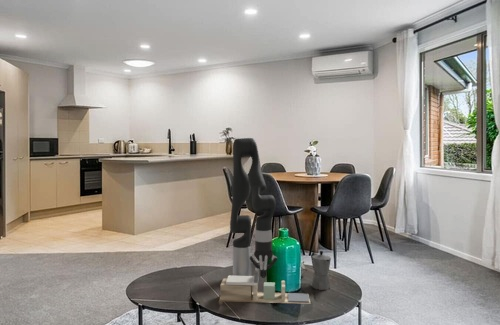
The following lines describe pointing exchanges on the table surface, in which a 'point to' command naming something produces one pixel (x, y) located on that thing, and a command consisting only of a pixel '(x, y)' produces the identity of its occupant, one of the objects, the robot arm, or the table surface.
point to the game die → (302, 269)
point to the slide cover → (243, 279)
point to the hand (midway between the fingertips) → (263, 277)
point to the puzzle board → (261, 296)
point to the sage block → (269, 290)
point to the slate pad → (297, 297)
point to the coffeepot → (320, 271)
